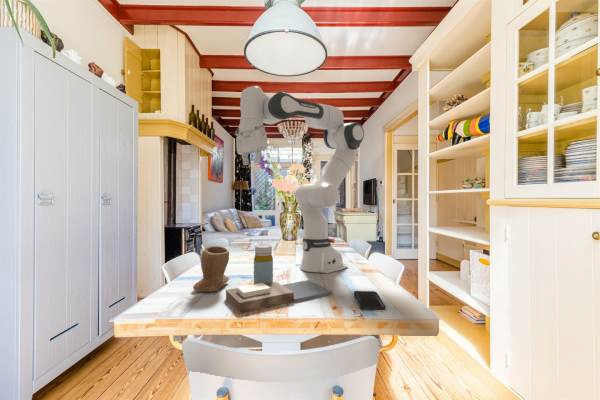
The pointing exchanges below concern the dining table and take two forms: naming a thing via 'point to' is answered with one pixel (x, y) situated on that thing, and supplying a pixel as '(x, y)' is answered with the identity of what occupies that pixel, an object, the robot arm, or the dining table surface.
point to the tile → (253, 290)
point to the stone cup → (213, 269)
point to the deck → (260, 298)
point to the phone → (369, 300)
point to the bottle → (263, 264)
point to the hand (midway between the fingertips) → (251, 164)
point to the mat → (307, 290)
